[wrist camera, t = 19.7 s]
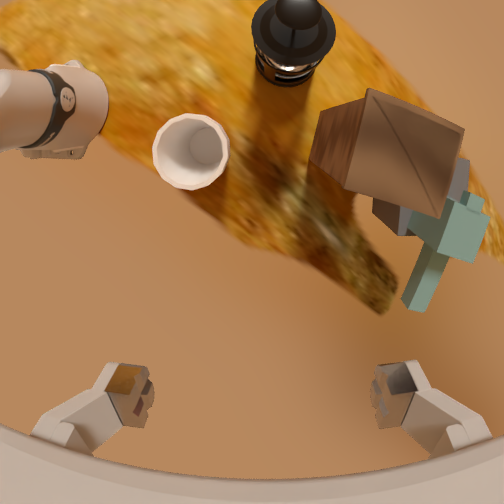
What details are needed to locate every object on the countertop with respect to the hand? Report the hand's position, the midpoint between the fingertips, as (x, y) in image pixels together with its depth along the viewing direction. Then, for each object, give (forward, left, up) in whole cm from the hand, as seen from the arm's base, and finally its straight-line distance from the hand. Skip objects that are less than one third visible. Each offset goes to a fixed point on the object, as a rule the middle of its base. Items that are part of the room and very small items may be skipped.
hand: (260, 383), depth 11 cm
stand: (+12, +6, -43) cm, 45 cm away
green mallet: (+22, -6, -31) cm, 38 cm away
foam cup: (-9, +6, -43) cm, 45 cm away
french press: (+4, +20, -43) cm, 48 cm away
